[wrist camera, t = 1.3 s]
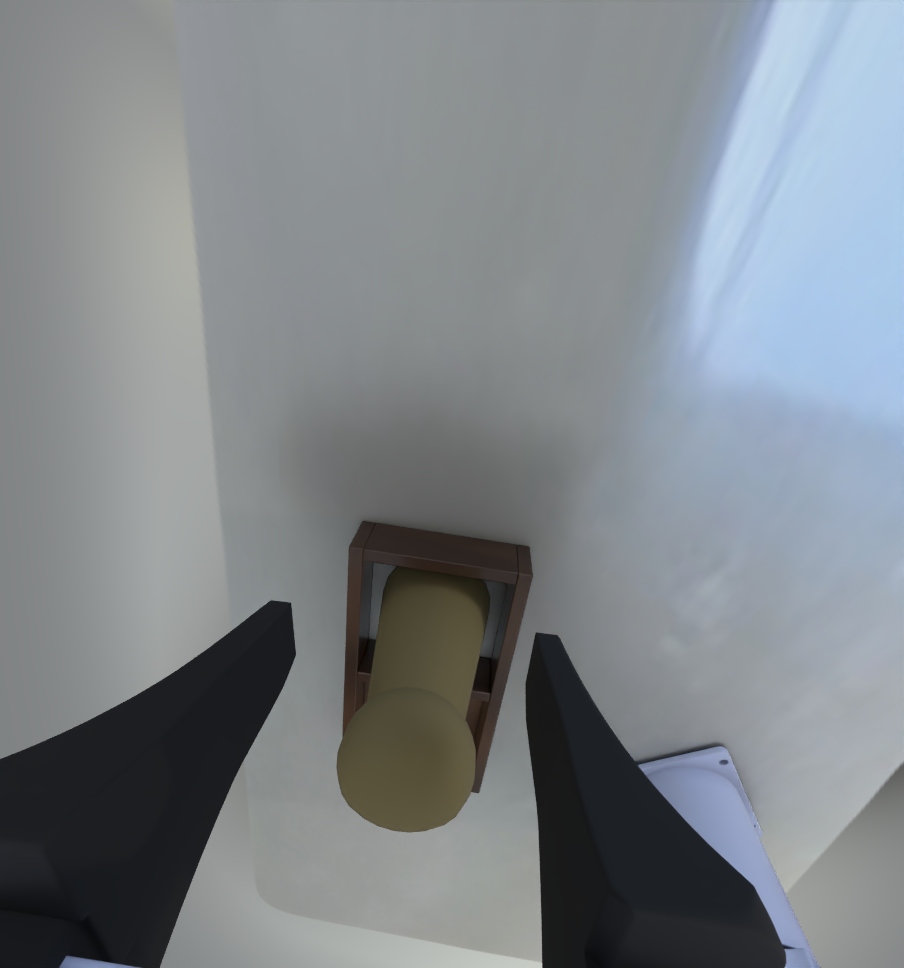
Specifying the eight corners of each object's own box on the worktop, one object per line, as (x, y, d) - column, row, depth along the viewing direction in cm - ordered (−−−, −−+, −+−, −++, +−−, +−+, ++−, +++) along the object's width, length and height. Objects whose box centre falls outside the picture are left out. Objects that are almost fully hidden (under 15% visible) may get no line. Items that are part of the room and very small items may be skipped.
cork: (484, 551, 24) (475, 748, 14) (495, 639, 26) (494, 860, 17) (373, 558, 25) (291, 750, 15) (394, 643, 27) (335, 856, 17)
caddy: (480, 755, 31) (479, 793, 29) (352, 734, 31) (341, 770, 29) (529, 546, 24) (533, 575, 21) (362, 520, 24) (348, 546, 22)
